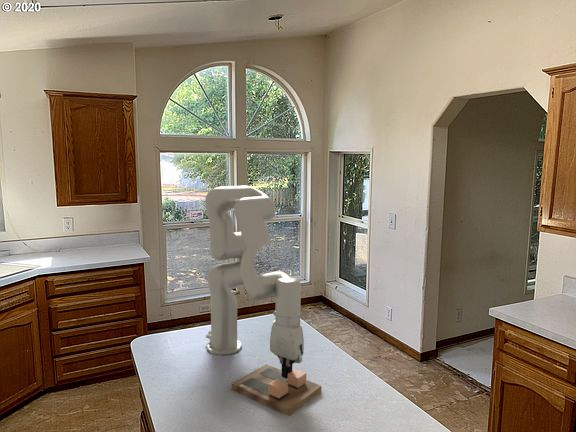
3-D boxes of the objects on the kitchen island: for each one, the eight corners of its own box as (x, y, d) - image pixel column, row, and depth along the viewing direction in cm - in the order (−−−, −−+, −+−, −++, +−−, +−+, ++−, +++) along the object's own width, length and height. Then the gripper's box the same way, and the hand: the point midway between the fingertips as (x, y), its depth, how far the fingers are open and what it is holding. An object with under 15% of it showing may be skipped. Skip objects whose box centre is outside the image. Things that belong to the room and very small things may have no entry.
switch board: (231, 389, 131) (231, 383, 131) (266, 369, 143) (266, 363, 143) (288, 416, 117) (288, 409, 117) (321, 392, 130) (321, 385, 130)
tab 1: (268, 393, 124) (268, 383, 124) (277, 387, 127) (277, 378, 127) (279, 398, 122) (279, 388, 121) (287, 392, 125) (287, 382, 124)
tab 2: (287, 383, 130) (287, 373, 130) (295, 378, 133) (295, 369, 133) (298, 387, 127) (298, 378, 127) (306, 382, 131) (306, 373, 130)
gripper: (260, 316, 132) (260, 373, 134) (300, 328, 122) (298, 389, 125) (276, 309, 137) (276, 364, 140) (315, 321, 128) (313, 379, 131)
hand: (286, 376), depth 132 cm, fingers closed
